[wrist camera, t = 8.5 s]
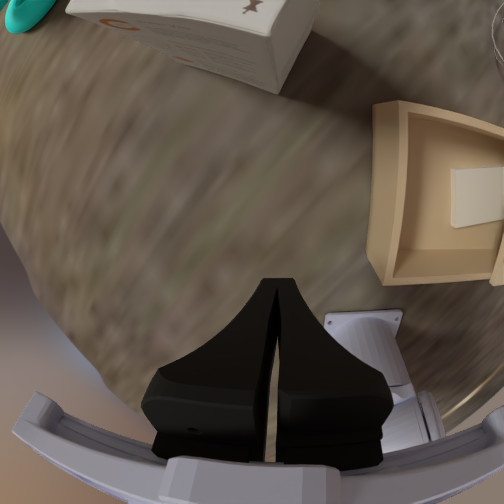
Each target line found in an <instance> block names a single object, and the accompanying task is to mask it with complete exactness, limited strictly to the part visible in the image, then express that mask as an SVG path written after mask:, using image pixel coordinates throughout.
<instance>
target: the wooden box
mask: <svg viewBox="0 0 504 504" xmlns="http://www.w3.org/2000/svg"><path fill="white" fill-rule="evenodd" d="M372 128H373V154H372V184H371V200H370V213H369V224H368V234H367V243H366V251H365V254H366V256H367V257H368V259H369V261H370V263H371V265H372V266H373V268H374V270H375V272H376V274H377V276H378V278H379V279H380V281H381V283H382V285H383V286H392V285H412V284H429V283H444V282H458V281H470V280H482V279H490V278H491V275H492V272H493V269H494V266H495V263H496V260H497V256H498V253H499V249H500V245H501V242H502V238H503V233H504V219H501V220H496V221H491V222H486V223H481V224H476V225H470V226H465V227H460V228H454V227H453V226H451V168H458V167H473V166H493V165H503V166H504V129H503V128H501V127H498V126H496V125H493V124H490V123H487V122H484V121H481V120H478V119H475V118H472V117H469V116H466V115H462V114H459V113H455V112H451V111H448V110H444V109H440V108H436V107H431V106H427V105H422V104H417V103H412V102H406V101H401V100H396V101H390V102H385V103H379V104H374V105H372Z"/></svg>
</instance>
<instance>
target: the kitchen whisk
mask: <svg viewBox="0 0 504 504" xmlns="http://www.w3.org/2000/svg"><path fill="white" fill-rule="evenodd" d="M503 5H504V3H503V4H502V5H501V7H502V6H503ZM501 7H500V8H499V9H498V11H497V13H496V15H495V17H494V20H493V24H492V38H493V41H494V37H493V25H494V21H495V18H496V16H497V14H498V12H499V10H500V9H501ZM503 21H504V18H503V20H502V23H503ZM495 48H496V44H495V41H494V53H495V56H496V52H495ZM496 50H497V48H496ZM497 52H498V53H499V51H498V50H497ZM499 55H500V53H499ZM500 57H501V58H502V56H501V55H500ZM496 59H497V56H496ZM497 60H498V59H497ZM502 60H503V58H502ZM498 61H499V60H498ZM503 61H504V60H503ZM499 62H500V61H499ZM500 63H501V62H500ZM501 64H502V63H501ZM502 65H503V64H502ZM503 66H504V65H503Z"/></svg>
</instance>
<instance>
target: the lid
mask: <svg viewBox="0 0 504 504" xmlns="http://www.w3.org/2000/svg"><path fill="white" fill-rule="evenodd" d="M489 283H490V284H491V285H492V286H497V285H504V233H503V238H502V242H501V245H500V249H499V253H498V256H497V260H496V263H495V266H494V269H493V272H492V275H491V278H490V281H489Z"/></svg>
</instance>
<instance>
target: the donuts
mask: <svg viewBox="0 0 504 504" xmlns="http://www.w3.org/2000/svg"><path fill="white" fill-rule="evenodd" d="M8 1H9V0H0V11H1V10H2V9H3V7H4V6H5V5H6V3H7V2H8ZM55 2H56V0H11V1H10V3H9V6H8V9H7V12H6V17H5V24H6V28H7V30H8V31H9V32H11V33H13V34H19V33H23V32H25V31H27V30H29V29H30V28H32V27H33V26H34V25H36V24H37V23H38V22H39V21H40V20H41V19H42V18H43V17H44V16H45V15H46V14H47V12H48V11H49V10H50V9H51V7H52V6H53V5H54V3H55Z"/></svg>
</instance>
